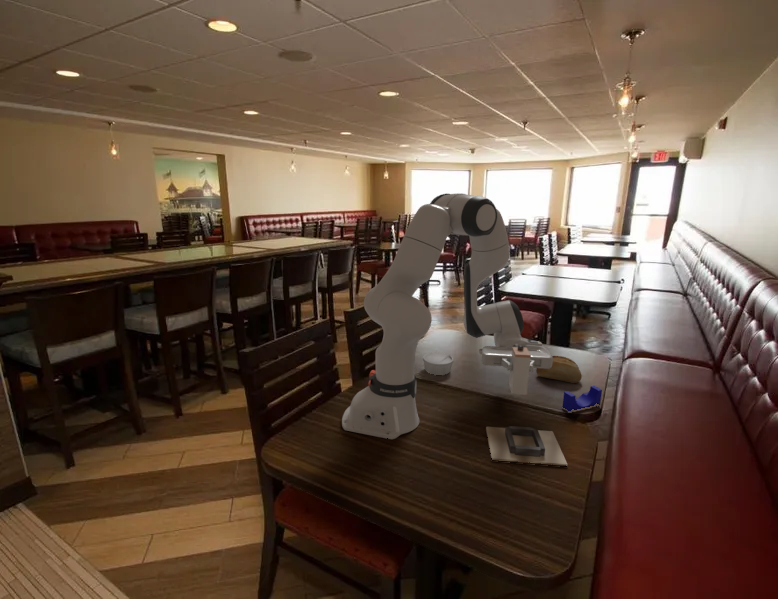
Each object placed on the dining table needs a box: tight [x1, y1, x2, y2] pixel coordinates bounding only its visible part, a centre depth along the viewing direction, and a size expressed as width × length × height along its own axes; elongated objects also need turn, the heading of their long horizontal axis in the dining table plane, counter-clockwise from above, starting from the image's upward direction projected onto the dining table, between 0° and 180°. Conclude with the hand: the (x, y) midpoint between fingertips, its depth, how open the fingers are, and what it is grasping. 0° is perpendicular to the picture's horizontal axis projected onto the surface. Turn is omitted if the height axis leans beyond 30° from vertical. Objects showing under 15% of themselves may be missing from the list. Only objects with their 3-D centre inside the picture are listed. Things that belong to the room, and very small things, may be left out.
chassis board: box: [485, 425, 569, 467], centre depth 106 cm, size 18×14×3 cm
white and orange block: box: [508, 345, 531, 396], centre depth 114 cm, size 4×6×13 cm
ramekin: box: [422, 351, 454, 376], centre depth 150 cm, size 11×11×5 cm
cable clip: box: [561, 385, 603, 411], centre depth 125 cm, size 12×4×6 cm, turn 110°
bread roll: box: [535, 355, 582, 384], centre depth 144 cm, size 10×15×8 cm, turn 71°
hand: (520, 368), depth 113 cm, fingers closed on white and orange block, 4 cm apart
